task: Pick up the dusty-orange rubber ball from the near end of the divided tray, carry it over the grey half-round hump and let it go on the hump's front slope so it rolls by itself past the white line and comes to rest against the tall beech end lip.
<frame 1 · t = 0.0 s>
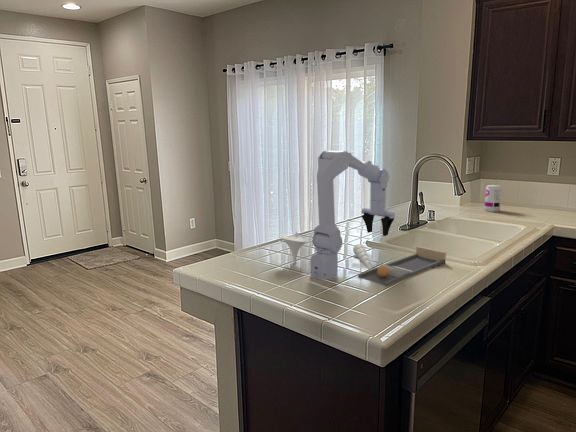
hand: (377, 233, 172), 10 cm above the worktop, tool pointing down, fingers open, 7 cm apart
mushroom: (294, 262, 173), on the worktop
ball: (383, 277, 152), point 1 cm above the worktop, touching divided tray
unicorn horn: (365, 263, 171), on the worktop
divided tray: (403, 270, 159), on the worktop
supplement can: (491, 211, 259), on the worktop
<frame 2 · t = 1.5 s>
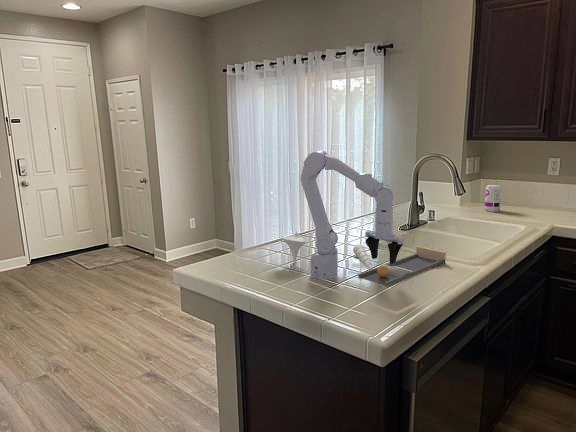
hand: (383, 260, 150), 7 cm above the worktop, tool pointing down, fingers open, 7 cm apart
nothing on the worktop moved.
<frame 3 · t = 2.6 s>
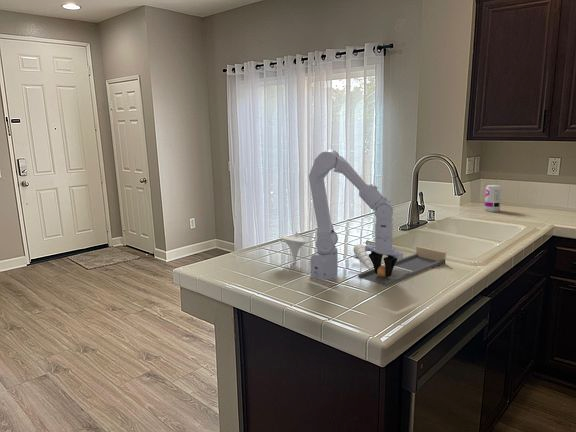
hand: (383, 274, 152), 1 cm above the worktop, tool pointing down, fingers closed on ball, 4 cm apart
ball: (383, 277, 152), point 1 cm above the worktop, touching gripper, divided tray
everything else where it was.
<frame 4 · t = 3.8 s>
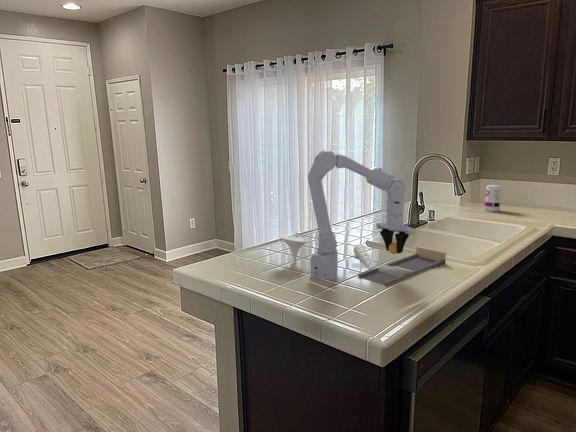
hand: (394, 251, 154), 9 cm above the worktop, tool pointing down, fingers closed on ball, 4 cm apart
ball: (394, 253, 154), point 8 cm above the worktop, touching gripper
everything else where it was.
when the fingers open (3 cm above the worktop, at t = 4.9 s): ball stays where it is and tips over, resting on divided tray.
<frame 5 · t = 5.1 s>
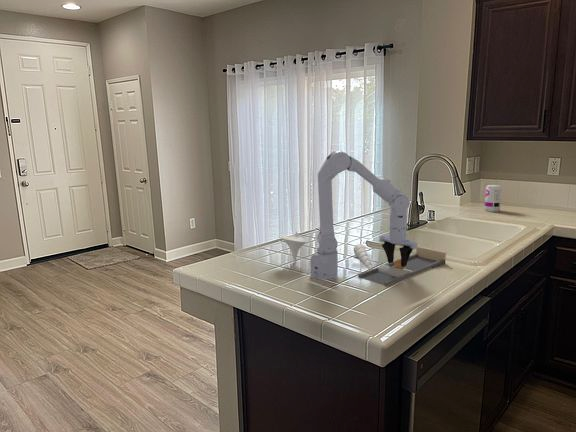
hand: (397, 264, 156), 3 cm above the worktop, tool pointing down, fingers open, 5 cm apart
ball: (397, 268, 156), point 2 cm above the worktop, tilted 54°, touching divided tray
everything else where it was.
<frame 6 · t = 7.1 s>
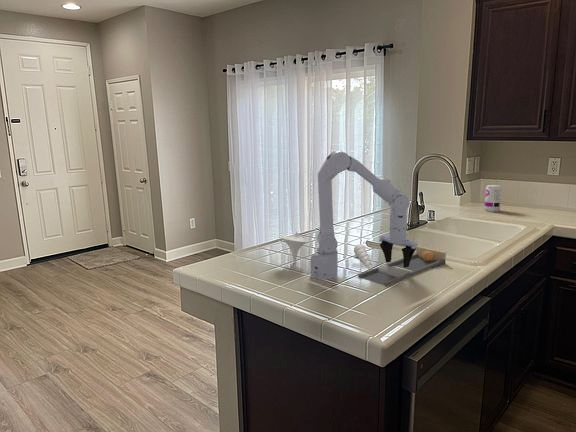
hand: (397, 264, 156), 3 cm above the worktop, tool pointing down, fingers open, 7 cm apart
ball: (428, 252, 166), point 5 cm above the worktop, tilted 162°, touching divided tray
everything else where it was.
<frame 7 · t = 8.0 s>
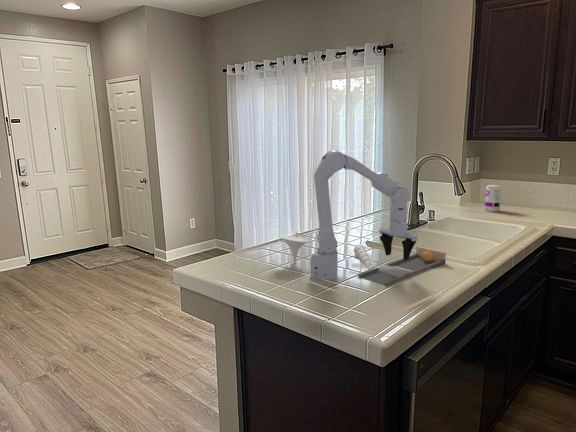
hand: (397, 257, 156), 6 cm above the worktop, tool pointing down, fingers open, 7 cm apart
ball: (428, 253, 165), point 4 cm above the worktop, tilted 143°, touching divided tray
everything else where it was.
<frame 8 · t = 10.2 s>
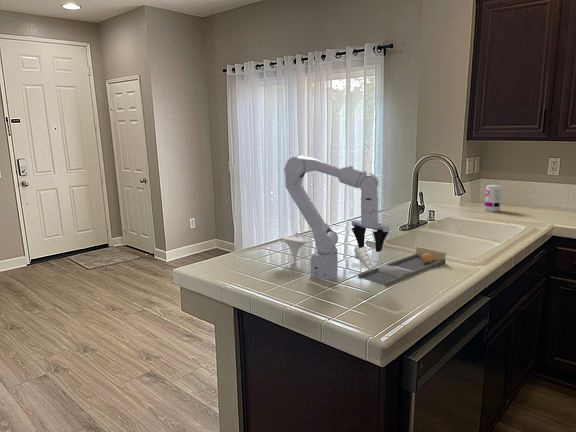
hand: (369, 249, 151), 10 cm above the worktop, tool pointing down, fingers open, 7 cm apart
ball: (427, 259, 163), point 3 cm above the worktop, tilted 93°, touching divided tray
everything else where it was.
at the end: ball inside the target area (3.5 cm from its centre), point 2.7 cm above the worktop; ball moved 22.3 cm from its start; the gripper is holding nothing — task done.
